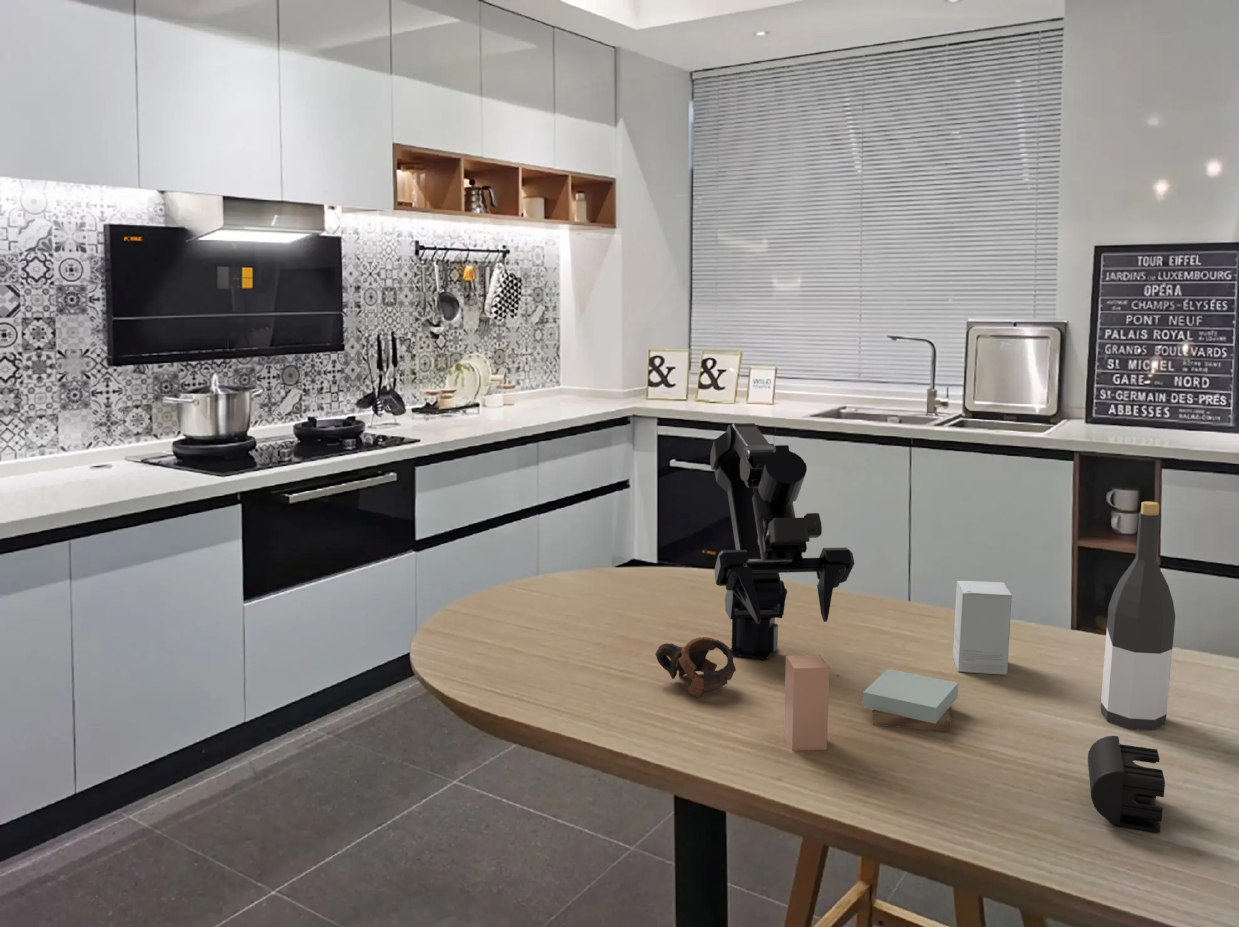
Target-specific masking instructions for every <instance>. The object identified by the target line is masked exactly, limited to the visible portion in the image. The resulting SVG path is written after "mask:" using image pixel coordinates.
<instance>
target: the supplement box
mask: <svg viewBox="0 0 1239 927" xmlns="http://www.w3.org/2000/svg"><path fill="white" fill-rule="evenodd" d="M1012 599H1013V594H1012V593H1011V591H1010V589H1008V586H1007V585H1006V583H1005V582H1000V581H980V580H979V581H977V580H976V581H975V580H957V581H956V590H955V609H954V610H955V611H954V612H955V613H954V628H953V629H954V630H953V645H952V646H953V648H952V649H953V650H952V657H953V660H954V663H955V666H956V668H957V672H961V673H974V674H987V675H1001V676H1002V675H1004V676H1005V675H1007V674H1008V668H1009V651H1010V650H1009V648H1010V638H1011V637H1010V635H1011V633H1010V631H1011V617H1012V616H1011V615H1012V603H1013V600H1012Z"/></svg>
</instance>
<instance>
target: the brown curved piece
mask: <svg viewBox="0 0 1239 927" xmlns="http://www.w3.org/2000/svg"><path fill="white" fill-rule="evenodd" d="M716 649H718V650H720V651H721V652H722V655H724V656H725V657H726V658H727V659H726V660H727V662H726V665H725V666H724V667H722V668H720V669H718V670H716V669H717V668H718V664H717V663H715V662H713V661H711V660H709V659H707V655H708V653H709V651H714V650H716ZM730 649H731V648H730V647H729V646H728V645H726V644H725V643H724V642H722V641H720V640H718V639H715V638H713V637H709V636H707V637H706V636H704V637H696V638H693V639H691V640H690V641H688V642H687V643H686V645H684V646H678V645H676V644H674V643H668V642H667V643H663V644H661V645H659V646H658V649H656V651H655V657H656V660H657V662H658V663H659V665H660V666H661V667H662V668H663V669H664V670H666V672H668V674H669V676H670V677H671V679H672V680H675V679H676V676H677V675H678V677H679V678H680V679H681V678H683V676H685V675H686V676H687V677H688V678H689V680H691V682H690V686H689V688H688V694H690V695H692V696H693V697H696V698H699V697H700V696H701V695H702V694H703V693H707V692H710V691H714V690H716V689H719V688H721V687H723V686H726V685H727V684H728V681H731V680H732V678H733V675H734V674H735V672H737V669H736V665H735V662H734V655H732V652H731V650H730ZM697 672H701V673H702V674H703V675H701V674H699V673H697Z"/></svg>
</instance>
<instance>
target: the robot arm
mask: <svg viewBox="0 0 1239 927" xmlns="http://www.w3.org/2000/svg"><path fill="white" fill-rule="evenodd" d="M759 425H760V424H756V423H755V422H739V423H737V422H735V423H734V422H733V423H731V424H729V425H728V426H727V428H726V431H725V432H724V433H722V434H721V435H719V436H718V437H717V438H715V439H714V440H713V443H712V445H711V446H712V447H711V450H710V455H709V456H710V457H709V458H710V459H709V460H710V469H711V470H712V471H714V477H715V481H716V484H718V486H719V487H720V488H722V490H723V491H724V492H726V493H727V499H728V503H729V504H728V505H729V510H730V511H729V512H730V519H731V524H732V525H731V526H732V530H733V532H732V533H733V539H734V544H735V545H734V546H735V549H721V550H720V552H718V554H717V558H716V563H715V566H714V579H715V585H717V586H718V587H724V586H725V589H726V594H725V597H724V605H725V606H724V607H725V608H724V610H725V612H726V614H727V616H728V618H729V619H730V620H731V621H732V622H731V647H730V648H729V649H730V650H731V652H732V656H737V657H743V658H751V659H758V660H765V661H766V660H768V659H769V658H770V657H771V656H772V655H773V653H775V651H776V650H778V647H779V646H778V642H779V640H778V638H779V637H778V636H779V625H778V623H776V620H775V619H777V618H778V619H783V615H784V614H785V606H786V599H787V595H788V589H787V588H786V586H785V583H784V581H783V580H781V577H780V574H781V573H782V574H783V573H785V574H786V573H788V574H789V573H816V577H817V579H818V582H817V585H816V586H817V587H816V588H817V596H818V601H819V608H820V614H821V619H822V621H823V623H827V621H828V620H829V614H830V610H831V609H830V608H831V602H832V596H833V591H834V589H836V588H838V587H839V586H840V584H842V583H844V582H846V581H847V580H848V579H849V576H850V574H851V572H852V570H853V567H854V565H855V558H854V555H853V552H852V551H851V550H850V549H849V548H847V547H846V546H845V547H823V548H822V549H821V553H820V555H819V557H803V553H806V552H807V549H808V546H807V543H808V542H809V543H810V539H813V538H815V539H816V538H819V537H820V536H821V535H822V534H823V529H822V528H823V526H822V520H821V517H820V513H818V512H809V513H805V515H804V516H803V517H796V513H795V508H794V507H795V506H794V502H796V501H797V499H798V497H799V494H800V491H801V488H802V485H803V482H804V479H805V477H806V473H807V462H805V461H804V459H803V458H802V457H801V456H800V455H799V454H797V453H795V452H792V451H791V450H790V446H789V445H788V444H779V445H778V444H775V445H771V444H770V443H769V441H768V440H767V439H766V438H765V436H764V435H763V434H762V431H761V429H760V428H761V427H760V426H759ZM755 488H757V489H756V491H755Z"/></svg>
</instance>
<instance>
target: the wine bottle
mask: <svg viewBox="0 0 1239 927" xmlns="http://www.w3.org/2000/svg"><path fill="white" fill-rule="evenodd" d="M1137 515H1138V516H1137V517H1138V524H1137V525H1138V526H1137V536H1136V538H1137V539H1136V547H1135V549H1136V550H1135V552H1136V553H1135V558H1134V559H1133V561H1132V562H1131V564H1130V565H1129V566H1128V567H1127V569H1126V571H1124V573H1123V574H1122V576H1121V577H1120V578H1119V580H1118V582H1117V584H1116V586H1115V588H1114V590H1113V592H1112V594H1111V598H1110V601H1109V604H1108V607H1107V609H1108V610H1107V620H1106V621H1107V623H1106V634H1105V647H1104V658H1103V671H1102V672H1103V673H1102V684H1101V686H1102V687H1101V698H1100V713H1101V715H1102V717H1104V719H1105V720H1106V722H1108V723H1110V724H1114V725H1116V726H1119V727H1122V728H1124V729H1128V730H1137V729H1138V730H1141V731H1152V730H1153V731H1154V730H1157V729H1160V728H1161V727H1164V726H1165V725H1166V720H1167V716H1168V715H1167V713H1168V704H1169V703H1168V702H1169V691H1170V680H1171V669H1172V659H1173V646H1174V635H1175V626H1176V625H1175V624H1176V611H1175V605H1174V600H1173V596H1172V593H1171V590H1170V587H1169V584H1168V582H1167V580H1166V578H1165V576H1164V574H1163V572H1162V569H1161V568H1160V565H1159V564H1158V561H1157V554H1158V553H1157V552H1158V544H1159V543H1158V542H1159V531H1160V520H1161V518H1162V514H1161V513H1160V503H1159V502H1155V501H1145V500H1144V501H1142V502H1141V507H1140V512H1138V514H1137ZM1163 725H1164V726H1163Z"/></svg>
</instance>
